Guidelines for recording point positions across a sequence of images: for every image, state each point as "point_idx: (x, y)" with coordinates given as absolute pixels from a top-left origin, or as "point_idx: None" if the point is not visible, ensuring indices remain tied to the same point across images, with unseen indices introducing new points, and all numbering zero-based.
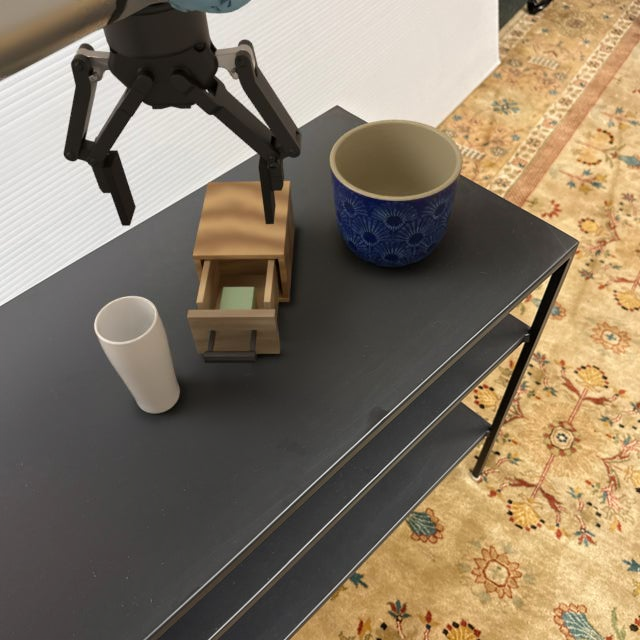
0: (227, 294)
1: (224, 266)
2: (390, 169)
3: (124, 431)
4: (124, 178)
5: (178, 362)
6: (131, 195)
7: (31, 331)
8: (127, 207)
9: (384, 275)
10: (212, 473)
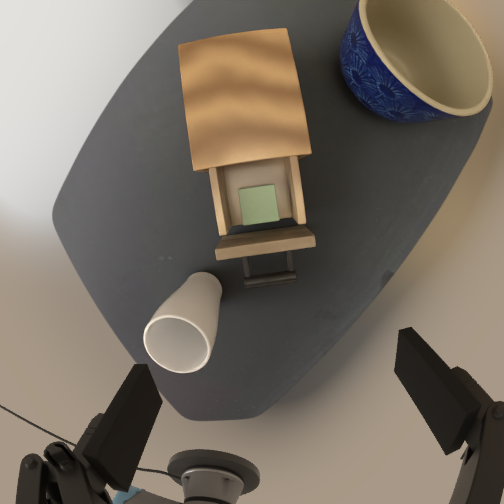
0: (246, 200)
1: None
2: (389, 14)
3: None
4: (124, 419)
5: (207, 250)
6: (138, 384)
7: (75, 237)
8: (150, 409)
9: (384, 119)
10: (269, 343)
